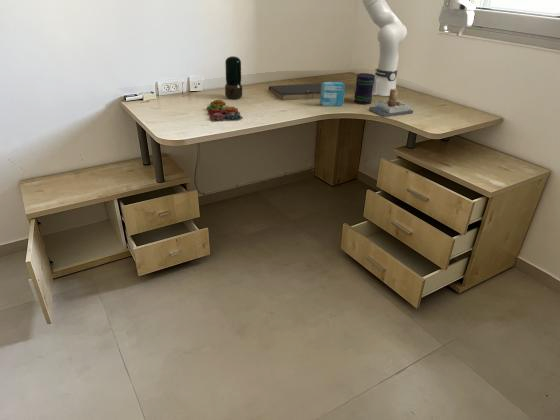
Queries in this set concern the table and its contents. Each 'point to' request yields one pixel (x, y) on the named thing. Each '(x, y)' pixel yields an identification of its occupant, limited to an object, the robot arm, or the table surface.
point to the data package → (332, 93)
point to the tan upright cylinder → (392, 97)
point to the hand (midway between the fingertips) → (451, 34)
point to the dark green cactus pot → (233, 78)
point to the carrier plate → (390, 108)
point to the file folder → (297, 91)
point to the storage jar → (364, 88)
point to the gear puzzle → (222, 112)
